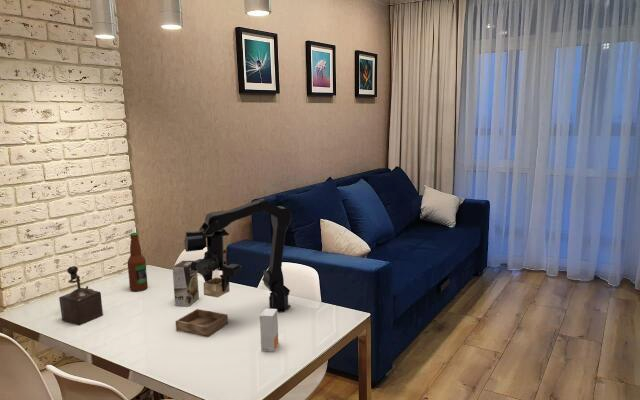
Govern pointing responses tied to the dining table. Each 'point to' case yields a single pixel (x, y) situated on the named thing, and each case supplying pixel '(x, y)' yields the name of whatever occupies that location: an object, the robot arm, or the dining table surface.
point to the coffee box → (185, 284)
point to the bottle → (136, 266)
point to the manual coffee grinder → (80, 302)
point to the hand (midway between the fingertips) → (216, 290)
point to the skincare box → (269, 329)
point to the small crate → (214, 287)
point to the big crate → (202, 322)
